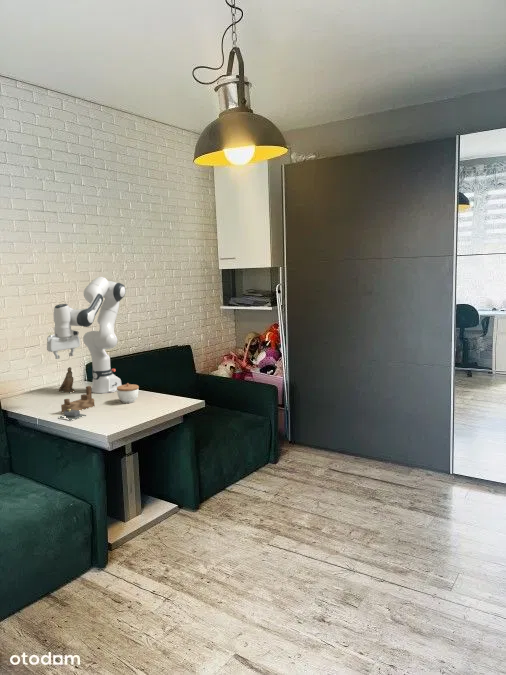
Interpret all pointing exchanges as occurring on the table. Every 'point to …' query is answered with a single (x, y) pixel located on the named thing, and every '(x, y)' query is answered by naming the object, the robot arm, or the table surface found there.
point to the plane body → (79, 402)
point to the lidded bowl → (128, 392)
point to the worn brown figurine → (67, 382)
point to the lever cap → (72, 413)
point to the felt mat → (73, 417)
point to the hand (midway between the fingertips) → (64, 357)
